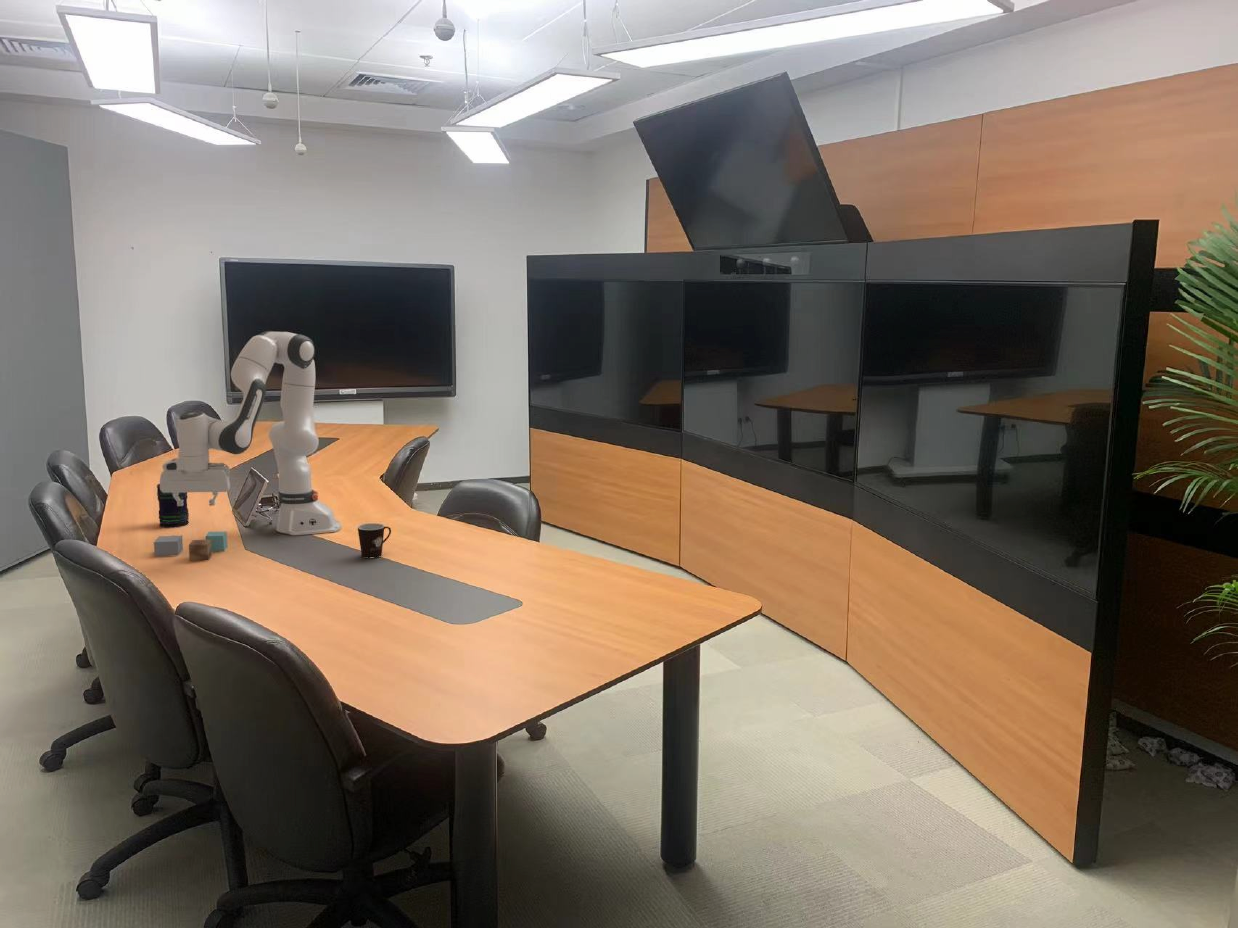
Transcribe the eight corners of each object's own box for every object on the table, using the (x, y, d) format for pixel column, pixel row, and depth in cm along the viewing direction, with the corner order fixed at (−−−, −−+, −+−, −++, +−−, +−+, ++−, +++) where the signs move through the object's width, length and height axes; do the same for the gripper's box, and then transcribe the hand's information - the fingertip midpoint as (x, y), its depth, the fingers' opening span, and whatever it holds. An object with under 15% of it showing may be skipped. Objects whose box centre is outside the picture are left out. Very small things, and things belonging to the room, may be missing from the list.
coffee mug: (361, 560, 293) (360, 531, 292) (355, 553, 301) (355, 524, 299) (397, 556, 299) (396, 527, 297) (390, 549, 306) (390, 521, 304)
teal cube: (227, 546, 305) (226, 531, 304) (224, 551, 299) (223, 535, 298) (209, 547, 303) (208, 531, 302) (206, 552, 298) (205, 536, 297)
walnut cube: (211, 555, 294) (210, 539, 293) (208, 560, 289) (207, 544, 288) (193, 556, 293) (192, 540, 292) (189, 561, 288) (188, 545, 287)
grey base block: (183, 549, 300) (182, 535, 299) (178, 556, 294) (177, 541, 293) (160, 550, 299) (159, 536, 298) (154, 556, 292) (153, 542, 291)
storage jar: (153, 525, 327) (150, 485, 324) (174, 519, 336) (171, 480, 333) (174, 529, 324) (171, 488, 321) (195, 522, 333) (192, 483, 330)
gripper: (231, 461, 291) (233, 502, 293) (162, 461, 286) (164, 503, 289) (227, 464, 285) (229, 507, 287) (156, 465, 280) (159, 508, 283)
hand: (196, 505), depth 288 cm, fingers open, 8 cm apart
